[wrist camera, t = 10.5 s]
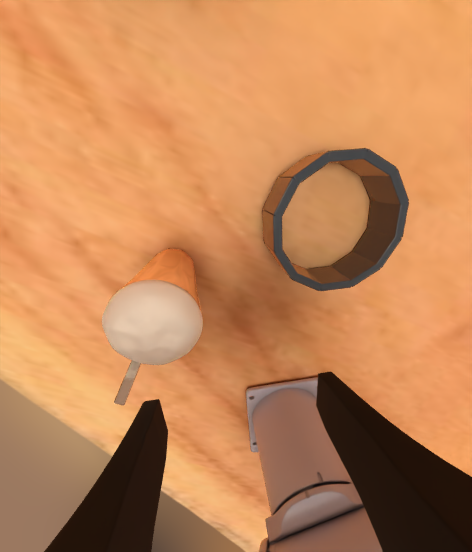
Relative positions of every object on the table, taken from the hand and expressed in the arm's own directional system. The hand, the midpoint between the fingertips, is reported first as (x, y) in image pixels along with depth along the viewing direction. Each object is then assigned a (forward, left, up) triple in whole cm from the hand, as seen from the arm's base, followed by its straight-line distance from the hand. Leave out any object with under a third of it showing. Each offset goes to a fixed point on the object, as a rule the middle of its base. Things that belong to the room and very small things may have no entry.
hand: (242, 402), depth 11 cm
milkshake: (+3, +4, -11) cm, 12 cm away
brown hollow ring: (+6, -8, -10) cm, 14 cm away
